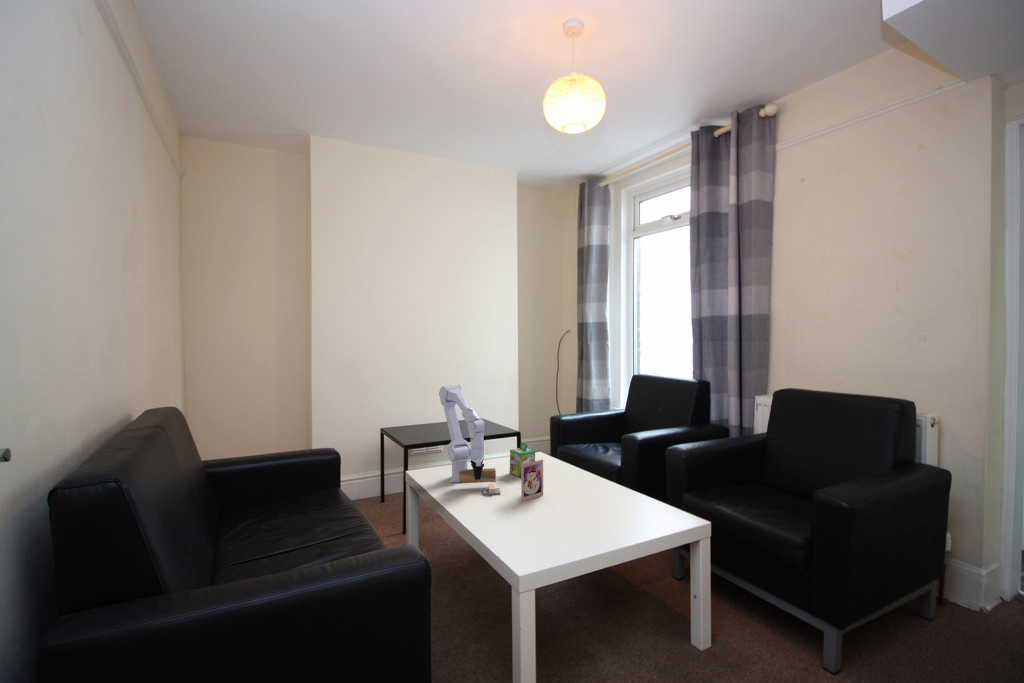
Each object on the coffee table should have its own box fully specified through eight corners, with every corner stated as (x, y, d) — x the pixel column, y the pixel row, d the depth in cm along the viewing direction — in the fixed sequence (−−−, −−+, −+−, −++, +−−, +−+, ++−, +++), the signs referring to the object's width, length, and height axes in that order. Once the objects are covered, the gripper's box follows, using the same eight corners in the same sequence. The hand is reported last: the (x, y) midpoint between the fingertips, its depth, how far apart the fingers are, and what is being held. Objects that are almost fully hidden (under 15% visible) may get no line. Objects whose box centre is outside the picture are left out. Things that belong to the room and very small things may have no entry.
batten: (458, 481, 206) (458, 469, 206) (494, 479, 208) (494, 468, 208) (459, 483, 202) (458, 472, 202) (495, 481, 205) (495, 470, 204)
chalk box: (509, 473, 226) (509, 443, 226) (524, 470, 232) (523, 440, 231) (520, 478, 219) (520, 446, 218) (536, 474, 224) (535, 443, 224)
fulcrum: (483, 490, 201) (483, 484, 201) (499, 489, 202) (499, 484, 202) (483, 495, 195) (483, 489, 195) (500, 494, 196) (500, 488, 196)
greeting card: (522, 501, 188) (522, 464, 188) (512, 496, 194) (511, 460, 193) (544, 495, 194) (544, 459, 194) (533, 490, 200) (533, 456, 200)
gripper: (467, 443, 212) (467, 473, 212) (468, 451, 197) (469, 483, 197) (482, 443, 213) (482, 472, 213) (485, 451, 198) (485, 482, 199)
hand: (477, 478), depth 205 cm, fingers closed on batten, 4 cm apart
